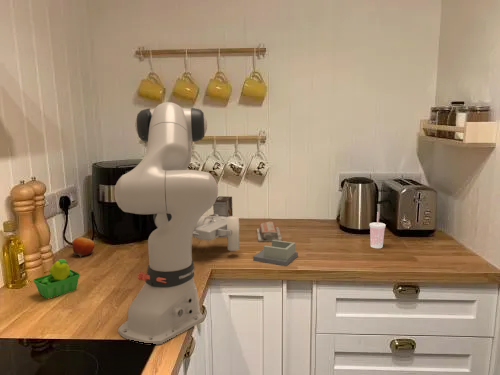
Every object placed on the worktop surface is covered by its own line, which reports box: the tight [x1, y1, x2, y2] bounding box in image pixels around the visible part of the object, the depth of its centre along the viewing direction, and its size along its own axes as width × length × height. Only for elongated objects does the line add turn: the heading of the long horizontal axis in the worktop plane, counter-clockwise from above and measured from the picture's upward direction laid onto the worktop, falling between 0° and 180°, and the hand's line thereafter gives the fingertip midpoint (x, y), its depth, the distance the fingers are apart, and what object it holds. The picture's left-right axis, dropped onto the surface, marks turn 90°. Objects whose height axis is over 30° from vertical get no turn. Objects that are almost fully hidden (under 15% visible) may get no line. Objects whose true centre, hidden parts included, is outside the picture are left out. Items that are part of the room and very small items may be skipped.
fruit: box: [71, 236, 95, 259], centre depth 161 cm, size 8×8×8 cm
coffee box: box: [212, 195, 234, 238], centre depth 185 cm, size 9×6×16 cm
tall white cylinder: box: [226, 215, 240, 252], centre depth 156 cm, size 4×4×12 cm
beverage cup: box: [368, 211, 387, 249], centre depth 165 cm, size 6×6×14 cm
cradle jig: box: [252, 240, 299, 267], centre depth 154 cm, size 11×13×6 cm
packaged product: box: [256, 220, 283, 243], centre depth 182 cm, size 18×5×10 cm
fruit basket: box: [32, 258, 81, 299], centre depth 127 cm, size 11×9×11 cm
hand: (235, 230), depth 156 cm, fingers closed on tall white cylinder, 4 cm apart
